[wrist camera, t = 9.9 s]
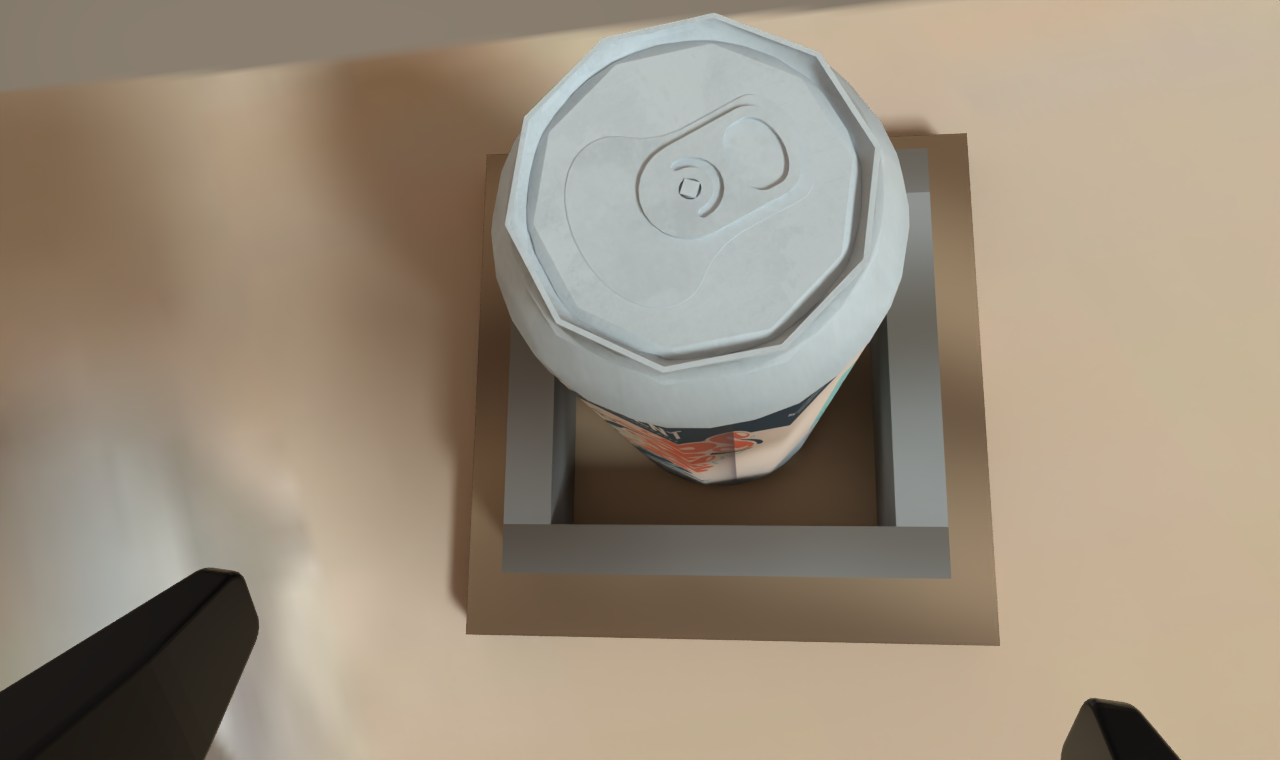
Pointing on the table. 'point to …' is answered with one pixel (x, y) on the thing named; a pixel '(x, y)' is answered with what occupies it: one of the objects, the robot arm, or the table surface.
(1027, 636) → the table surface
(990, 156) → the table surface
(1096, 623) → the table surface
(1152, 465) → the table surface
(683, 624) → the socket board
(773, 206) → the beer can
